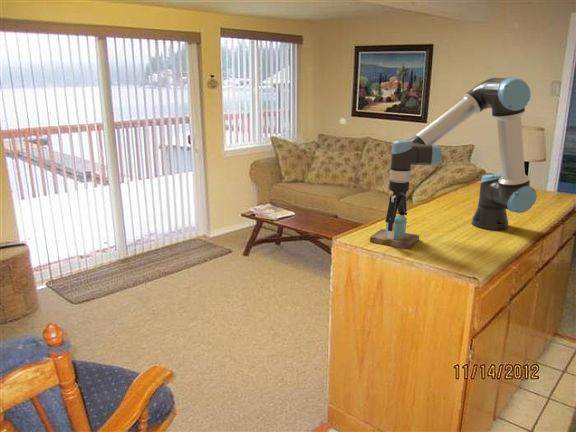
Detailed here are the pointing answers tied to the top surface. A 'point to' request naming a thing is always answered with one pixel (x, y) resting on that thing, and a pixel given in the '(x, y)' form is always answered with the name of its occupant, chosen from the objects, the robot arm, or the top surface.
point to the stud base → (402, 243)
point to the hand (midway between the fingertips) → (395, 234)
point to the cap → (399, 227)
